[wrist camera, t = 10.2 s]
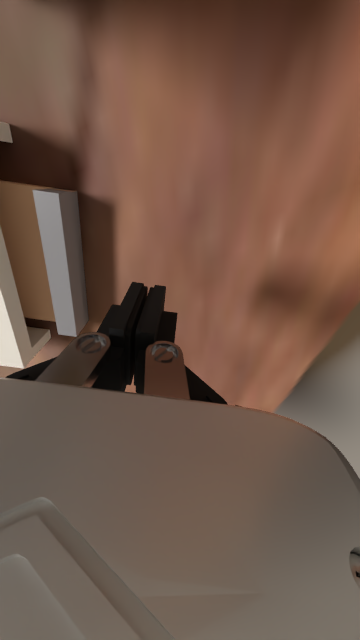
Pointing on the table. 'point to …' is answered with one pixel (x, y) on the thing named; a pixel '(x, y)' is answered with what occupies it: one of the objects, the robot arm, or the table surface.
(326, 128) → the table surface
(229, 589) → the robot arm
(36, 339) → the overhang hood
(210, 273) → the table surface
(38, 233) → the tan flat board
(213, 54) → the table surface
